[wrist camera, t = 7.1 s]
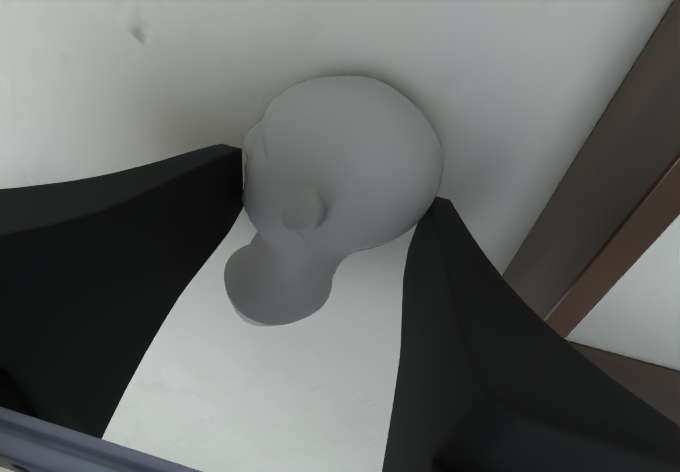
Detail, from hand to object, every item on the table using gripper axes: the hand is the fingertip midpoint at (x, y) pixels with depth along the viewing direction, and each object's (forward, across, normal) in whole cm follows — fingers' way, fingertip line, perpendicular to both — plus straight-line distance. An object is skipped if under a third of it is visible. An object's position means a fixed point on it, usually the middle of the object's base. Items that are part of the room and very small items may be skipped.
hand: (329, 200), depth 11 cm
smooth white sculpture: (+2, +1, 0) cm, 2 cm away
